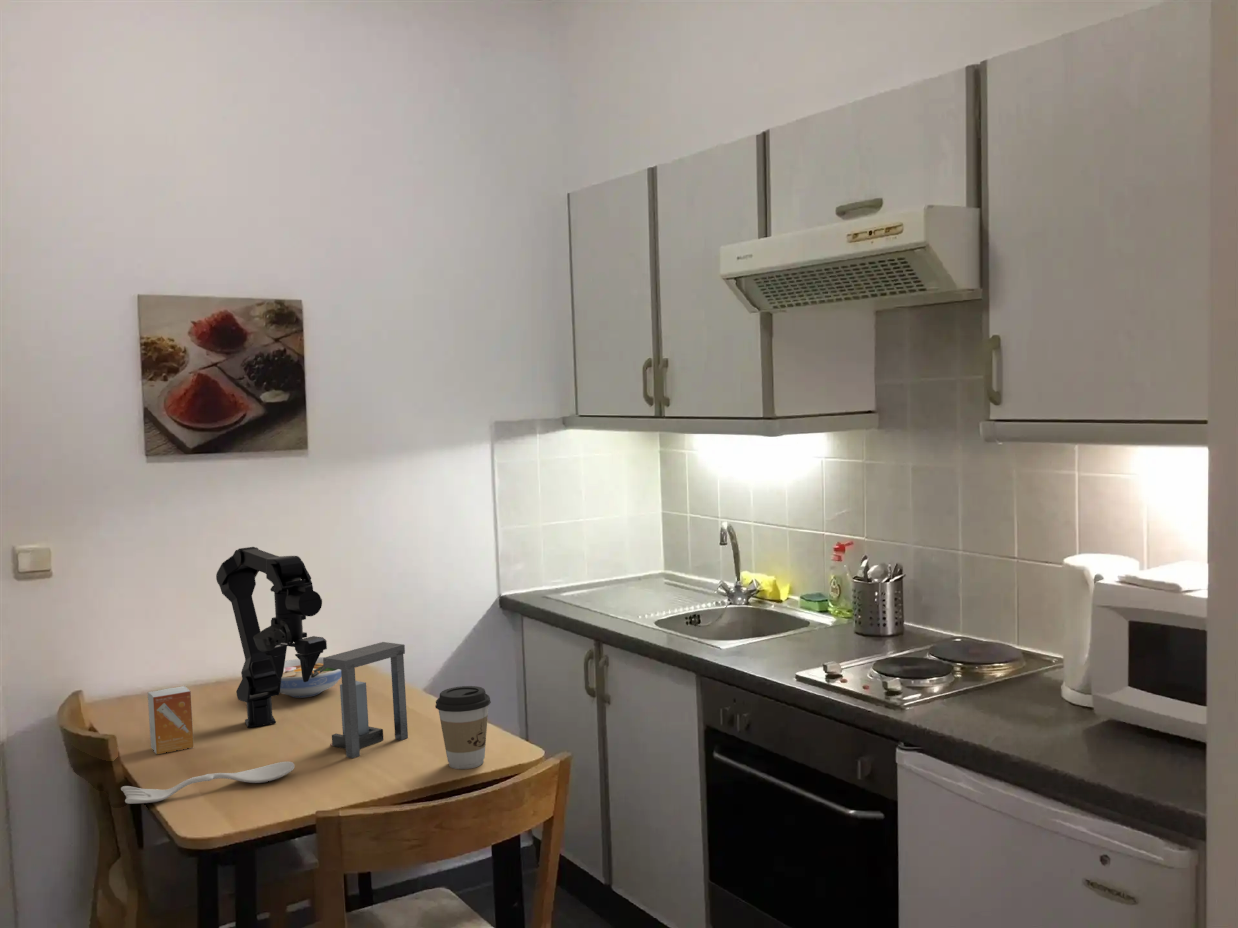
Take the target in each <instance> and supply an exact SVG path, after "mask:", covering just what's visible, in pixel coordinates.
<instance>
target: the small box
mask: <svg viewBox="0 0 1238 928" xmlns="http://www.w3.org/2000/svg"><path fill="white" fill-rule="evenodd" d="M191 693H192V692H191V690H190V689H189V688H188V687H186V685H182V686H177V687H170V688H169V687H168V688H165V689H164V688H163V689H161V690H160V689H159V690H153V691H152V690H151V691H148V692H147V702H148V705H147V706H148V720H149V721H148V722H149V736H150V738H149V739H150V748H152V749H153V750H154V751H153V750H152V749H151V750H152V751H153V752H154V754H155V755H161V754H166V752H167V753H170V752H171V753H172V752H177V751H176V750H178V751H183V749H184V750H188V749H187V748H189V749H194V748H193V747H195V746H194V743H195V742H194V728H193V727H194V725H193V709H192V708H193V707H192V694H191Z"/></svg>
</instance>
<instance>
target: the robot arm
mask: <svg viewBox="0 0 1238 928" xmlns="http://www.w3.org/2000/svg"><path fill="white" fill-rule="evenodd" d="M259 572H260V573H264V574H265V576H266V577H265V578H266V579H267V580H268V581H270V583H272V586H271V588H270V589H269V590H270V592H273V593H274V595H273V596H274V597H273V598H274V607H275V608H274V609H275V611H274V612H275V614H274V615H275V616H274V617H271V620H270V625H269V626H268V627H266V628H264V629H262V630H261V629H260V628H261V627H260V623H259V620H258V616H257V611H256V608H255V605H254V604H255V603H254V600H253V593H254V591H255V588H256V585H257V582H256V577H257V576H258V574H259ZM215 575H216V578H215V579H216V583H217V585H218V586H219V589H220V592H221V594H222V596H224V597H225V598H226V599H227V600H228V601H229V602H230V603H231V606H232V610H233V614H234V619H235V623H236V626H237V631H238V636H239V638H240V639H239V641H240V643H241V647H242V652H243V655H244V663H243V666H242V669H241V671H240V673H241V680H240V683H239V685H238V687H237V689H236V693H235V694H236V697H237V700H238V701H240V702H243V703H246V713H247V714H246V715H247V718H246V719H244V722H245V725H246V727H247V728H254V727H261V726H267V725H274V724H277V721H276V719H275V717H274V715H273V703H272V697H275V696H280V694H281V693H280V687H281V679H282V678H281V677H282V676H283V671H284V664H285V661H286V655H287V650H288V647H292V648H294V650H295V652H296V654H294V655H295V657H296V659H299V660H300V664H301V671H302V678H303V682H308V680H309V678H310V676H311V673H312V671H313V668H314V666H315V664H316V661H317V659H318V658H319V657H321V654H322V653H324V651H325V650H327V649H328V645H327V644H328V643H327V642H328V641H327V640H326V638H324V637H322V636H315V635H313V636H308V632H307V631H305V632H304V631H303V628H304V627H303V621H305V620H307V617H314V616H315V615H317V614H319V612H320V611H321V609H322V606H323V599H322V597H321V596H320V594H319V592H317V591H314V586H313V582H312V577H311V576H312V575H311V574H309V571H308V570H307V568H306V565H305V563H304V562H303V560H302V558H301V557H300V556H298V555H283V556H282V555H281V556H279V555H276V554H273V553H270V552H267V551H264V550H261V549H259V548H258V547H255V546H247V547H240V548H238V549H235V551H234V552H233V554H232V555H231V556H230V557H228V558H227V559H226V560H224V561H223V562H221V564H220V566H219V567H218V570H217V571H216V574H215Z"/></svg>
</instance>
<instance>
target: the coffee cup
mask: <svg viewBox="0 0 1238 928" xmlns="http://www.w3.org/2000/svg"><path fill="white" fill-rule="evenodd" d="M491 703H492V701H491V697H490V695H489V694H487V693H486V690H485V688H483V687H482V686H476V685H462V686H454V687H448V688H446V689H443V690H442V691H441V692H440V693H439V697H438V698H437V699H436V700H435V709H437V711H438V715H439V720H440V726H441V727H440V728H441V732H442V737H443V738H442V739H443V742H444V743H443V744H444V748H445V754H446V758H447V759H446V760H447V763H448V765H449V766H448V767H449V768H450V769H451V768H452V769H456V770H469V769H475V768H478V767H480V766H483V764H484V763H485V761H484V759H485V758H486V757H485V755H486V745H487V744H486V743H487V730H488V719H489V716H488V715H489V706H490V705H491Z"/></svg>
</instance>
